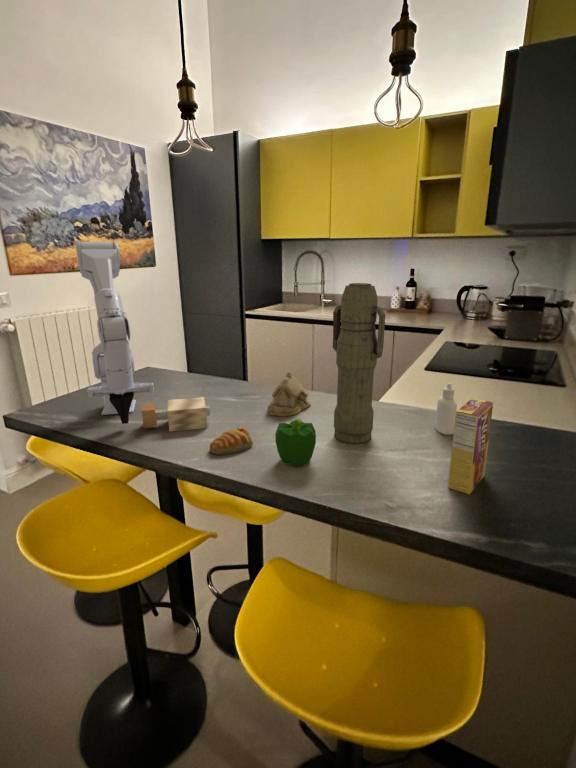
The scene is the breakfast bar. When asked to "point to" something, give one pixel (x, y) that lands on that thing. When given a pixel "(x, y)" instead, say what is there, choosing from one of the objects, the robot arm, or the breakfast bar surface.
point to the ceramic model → (288, 397)
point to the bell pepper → (295, 442)
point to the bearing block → (187, 414)
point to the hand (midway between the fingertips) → (125, 422)
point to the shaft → (157, 415)
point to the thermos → (356, 361)
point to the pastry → (231, 442)
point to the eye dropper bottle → (446, 412)
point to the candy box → (470, 445)
